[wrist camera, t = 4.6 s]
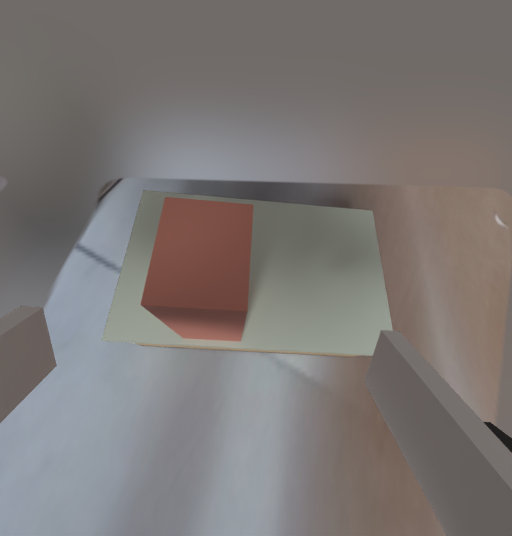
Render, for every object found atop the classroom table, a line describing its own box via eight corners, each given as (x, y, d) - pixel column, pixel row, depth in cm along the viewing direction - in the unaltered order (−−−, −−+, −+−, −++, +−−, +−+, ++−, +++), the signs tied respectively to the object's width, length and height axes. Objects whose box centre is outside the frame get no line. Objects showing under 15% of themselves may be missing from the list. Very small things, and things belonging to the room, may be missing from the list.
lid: (106, 341, 18) (-19, 306, 9) (145, 195, 23) (90, 80, 14) (391, 356, 19) (529, 338, 10) (368, 215, 24) (447, 120, 15)
